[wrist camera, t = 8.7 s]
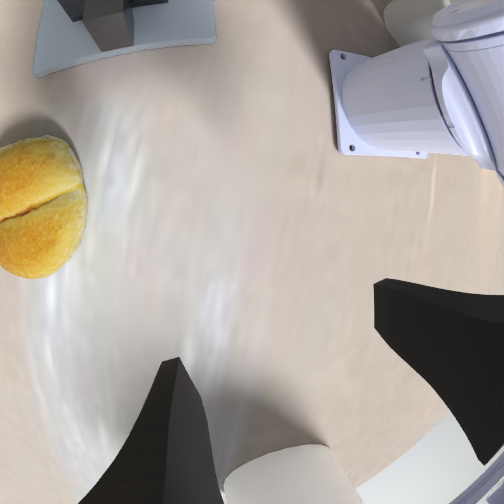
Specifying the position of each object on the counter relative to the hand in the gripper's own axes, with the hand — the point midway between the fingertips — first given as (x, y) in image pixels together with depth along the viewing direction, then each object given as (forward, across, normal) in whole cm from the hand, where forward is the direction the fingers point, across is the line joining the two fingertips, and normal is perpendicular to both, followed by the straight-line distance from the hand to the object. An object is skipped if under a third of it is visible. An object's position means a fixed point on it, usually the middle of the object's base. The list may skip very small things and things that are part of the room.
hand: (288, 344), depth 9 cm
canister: (+11, +3, +33) cm, 35 cm away
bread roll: (+11, +12, -8) cm, 18 cm away
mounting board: (+10, +3, -20) cm, 22 cm away
